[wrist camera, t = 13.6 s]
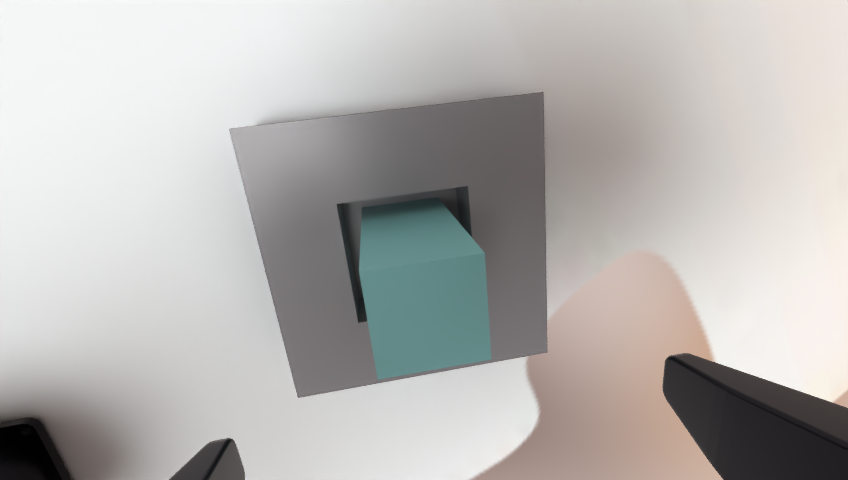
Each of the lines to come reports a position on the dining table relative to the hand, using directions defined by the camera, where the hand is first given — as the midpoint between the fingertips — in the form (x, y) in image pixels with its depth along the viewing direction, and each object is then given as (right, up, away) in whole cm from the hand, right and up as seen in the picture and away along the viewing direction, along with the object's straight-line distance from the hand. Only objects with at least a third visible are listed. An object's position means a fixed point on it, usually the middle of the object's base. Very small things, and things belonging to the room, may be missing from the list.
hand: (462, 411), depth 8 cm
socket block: (-2, +4, +12) cm, 13 cm away
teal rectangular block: (-2, +4, +11) cm, 12 cm away
